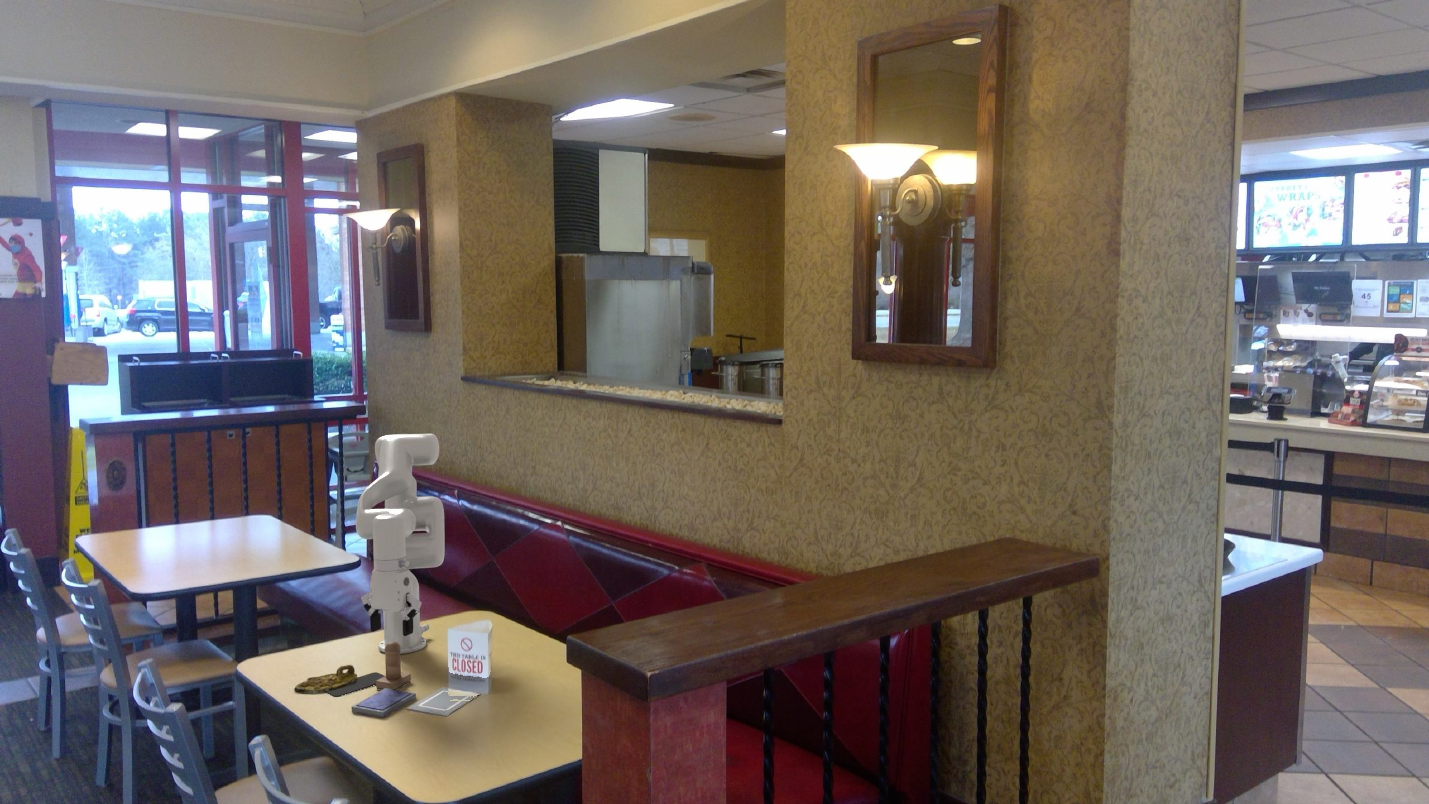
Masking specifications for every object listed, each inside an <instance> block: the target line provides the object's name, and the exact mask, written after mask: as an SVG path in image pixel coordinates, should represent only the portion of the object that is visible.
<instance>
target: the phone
mask: <svg viewBox="0 0 1429 804" xmlns="http://www.w3.org/2000/svg"><path fill="white" fill-rule="evenodd" d="M384 676H385V675H384V674H382V673H380V672H370V673H367V674H364V675H360V676H357V679H356V680H355V681H354V682H352V683H350V684H348V685H346V686H344V687H341V688H338V689H334V690H329V691H325V692H324V693H326V694H328V695H329V694H330V696H331V697H334V698H339V697H342V695H343V696H345V694H346V695H349V694H352V692H353V693H355V692H359V691H361V690H360V689H362V690H365V689H367V688H368V687H369V688H371V686H372V687H374V686H373V685H375V686H376V681H377V680H378V679H380V678H382V677H384ZM364 688H365V689H364ZM358 690H359V691H358Z"/></svg>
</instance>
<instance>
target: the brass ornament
mask: <svg viewBox="0 0 1429 804" xmlns="http://www.w3.org/2000/svg"><path fill="white" fill-rule="evenodd" d="M346 670H347V671H346ZM344 671H346V672H344ZM355 672H356V670H355V667H354V665H353V664H346V665H341V666H339V667H338V668H337V670H336V672H335V673H329V674H325V675H320V676H312V677H311V676H310V677H308V678H307V679H306V680H304V681H302V682H299V683H298V684H296V686H294V688H293V689H294V692H300V693H303V694H308V695H309V694H310V695H311V694H316V695H317V694H322V693H326V692H325V691H329V690H334V689H338V688H341V687H344V686H346V685H348V684H350V683H352V682H354V681H355V680H356V679H357V677H358V674H357V673H355Z"/></svg>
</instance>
